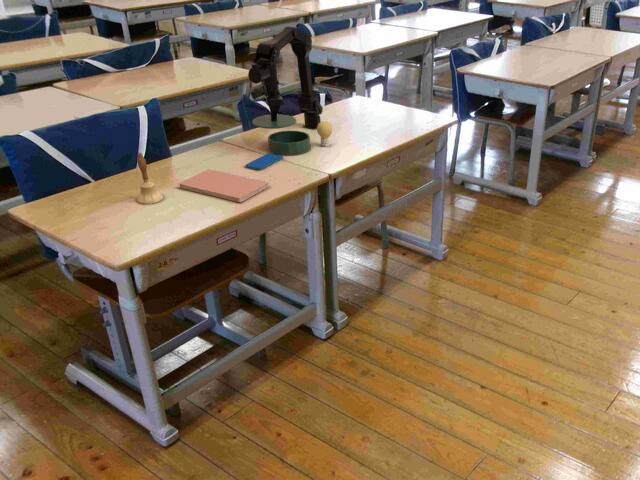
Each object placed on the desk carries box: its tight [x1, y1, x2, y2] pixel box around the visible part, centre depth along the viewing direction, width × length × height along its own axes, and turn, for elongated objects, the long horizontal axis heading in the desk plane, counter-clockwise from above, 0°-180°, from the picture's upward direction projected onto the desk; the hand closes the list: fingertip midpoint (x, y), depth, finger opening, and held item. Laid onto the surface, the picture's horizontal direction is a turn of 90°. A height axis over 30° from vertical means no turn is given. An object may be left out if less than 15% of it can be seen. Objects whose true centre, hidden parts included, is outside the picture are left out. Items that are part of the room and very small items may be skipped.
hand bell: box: [136, 152, 164, 205], centre depth 209 cm, size 8×8×16 cm
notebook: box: [177, 169, 270, 203], centre depth 222 cm, size 27×17×2 cm, turn 63°
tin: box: [267, 130, 311, 157], centre depth 256 cm, size 16×16×5 cm
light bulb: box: [316, 120, 334, 147], centre depth 259 cm, size 6×6×10 cm
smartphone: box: [245, 152, 284, 171], centre depth 243 cm, size 7×1×15 cm
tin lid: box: [251, 109, 297, 130], centre depth 252 cm, size 17×17×6 cm
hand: (273, 117), depth 253 cm, fingers closed on tin lid, 2 cm apart
